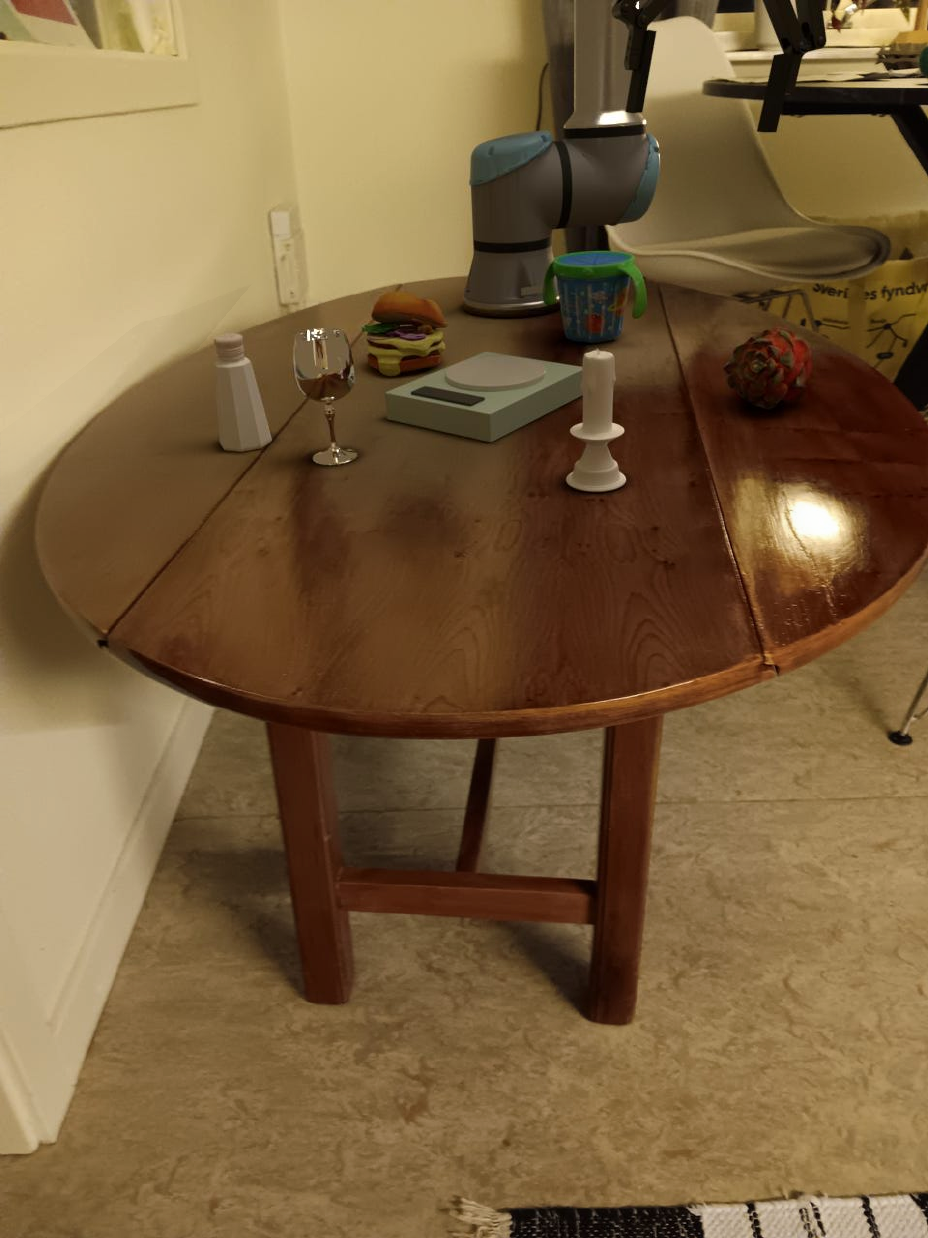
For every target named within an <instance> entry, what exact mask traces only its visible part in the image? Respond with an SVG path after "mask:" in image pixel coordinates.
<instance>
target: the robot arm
mask: <svg viewBox="0 0 928 1238" xmlns="http://www.w3.org/2000/svg"><path fill="white" fill-rule="evenodd" d="M573 1H574V7H573V10H574V13H573V15H574V20H573V21H574V23H573V24H574V29H573V31H574V33H573V34H574V36H573V37H574V38H573V39H574V40H573V41H574V46H573V47H574V53H573V54H574V55H573V56H574V59H573V61H574V64H573V65H574V67H573V69H574V70H573V73H574V74H573V77H574V78H573V79H574V80H573V86H574V87H573V88H574V89H573V90H574V91H573V97H574V98H573V103H574V104H573V105H574V106H573V107H574V108H573V109H574V110H573V113H572V115H571V116H570V117H569V119H567V121H565V123H564V124H563V140H555V141H554V137H553V135H552V132H551V131H549V130H532V131H527V132H519V133H513V134H509V135H503V136H500V137H496V138H493V139H489V140H486V141H484V142H482V143H479V144H477V145H476V146H475V147H474V148H473V150H472V152H471V154H470V162H469V163H470V164H469V165H470V166H469V167H470V168H469V180H468V185H469V186H470V200H471V203H470V204H471V223H472V226H471V227H472V244H473V245H472V247H473V249H472V250H473V254H472V256H473V257H472V260H471V263H470V266H469V267H470V268H469V271H468V275H467V279H466V284H465V288H464V291H463V295H462V296H463V297H462V299H463V300H462V301H463V309H464V310H465V311H466V312H468V313H471V314H473V315H476V316H482V317H489V318H490V317H491V318H493V317H494V318H522V317H529V316H530V317H531V316H538V315H544V314H548V313H551V312H554V311H558V310H560V299H559V293H558V287H557V279H556V276H555V277H554V286H555V292H556V299H557V300H556V302H555V303H554V304H553V305H550V306H547V305H546V304H545V303H544V301H543V297H542V294H543V284H544V278H545V274H546V271H547V268H548V267H549V265H550V264H551V263H552V262H553V260H554V259H555V257H554V254H553V230H562V229H563V230H564V229H576V228H586V227H588V228H589V227H599V226H610V227H615V226H618V225H620V224H628V223H634V222H637V221H639V220H640V219H642V218H643V217H644V216H645V215H646V213H647V212H648V211H649V209H650V207H651V205H652V203H653V200H654V198H655V196H656V192H657V187H658V183H659V178H660V170H661V155H660V153H659V150H660V147H659V146H660V145H659V142H658V139H656V137H655V136H654V135H652V134H650V133H648V132H647V120H646V118H644V117H643V116H642V114H641V113H643V111H644V107H645V106H644V105H645V100H646V94H647V89H648V82H649V77H650V72H651V65H652V60H653V54H654V49H655V44H656V37H657V33H658V31H657V30H654V29H648V26H650V25H651V23H653V21H654V20H656V18H657V17H658V16H659V15H660V14H661V13H662V12H663V11H664V10H665V9H666V8H667V7H668V6H669V5H670V4H671V3H672V2H673V0H646V1H645V2H644V3H643V4H642V5H641V7H640V8H639V4H640V3H639V2H640V0H573ZM762 3H763V5H764V8H765V10H766V13H767V15H768V18H769V20H770V23H771V26H772V28H773V31H774V33H775V35H776V38H777V40H778V43H779V46H780V48H781V51H782V53H778V54H773V57H772V61H771V62H772V63H771V66H770V71H769V74H768V78H767V84H766V88H765V93H764V98H763V102H762V106H761V111H760V115H759V119H758V124H757V128H756V132H757V133H764V134H765V133H777V131H778V127H779V123H780V119H781V114H782V110H783V107H784V106H783V105H784V102H785V97H786V95H787V96H788V95H793V93H794V92H795V89H796V86H797V81H798V76H799V73H800V69H801V64H802V60H803V57H805V55H806V54H807V53H809V52H813V51H817V50H822V49H824V47H826V45H827V32H826V25H825V18H824V11H823V4H822V3H823V2H822V0H794V3H795V7H796V8H795V9H794V6H793V4H792V1H791V0H762ZM795 10H796V11H795Z"/></svg>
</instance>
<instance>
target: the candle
mask: <svg viewBox="0 0 928 1238" xmlns="http://www.w3.org/2000/svg"><path fill="white" fill-rule="evenodd" d="M615 362H616V360H615V356H614V354H613V353H612V352H609V351H605V350H600V349H599V348H596V350H591V351H590V352H585V353H584V355H583V357H582V366H581V367H582V382H581V385H580V389H581V392H582V394H583V395H582V422H580V423H576V424H575V425H573V426H571V428H570V430H569V433H570V434H571V436H573V437H575V438H576V439H578V440H580V441H582V442H584V444H585V443H586V445H585V448H584V450H583V453H582V455H581V456H580V459H579V460H577V461H576V462H575V463H574V466H573V471H571V472H570V473H568V475H567V476H566V478H565V482H566V484H567V485H568V486H570V487H571V488H573V489H575V490H578V491H582V492H588V493H603V492H610V491H614V490H617V489H620V488H621V487H623V486H624V485H625V483H626V482H627V478H626V475H624V473H623V472H621V471H620V469H619V464H618V462H617V461H616V460H615V459H613V457H612V455H611V452H610V450H609V447H608V443H610V442H612V441H614V440H615V439H617V438H619V437H621V436H622V435H623V434H624V433H625V428H624V427H623V425H622V426H621V425H620V424H618V423H614V422H613V404H614V403H613V402H614V386H615V384H616V381H617V377H616V376H617V375H616V371H615V370H616V368H615V365H616V364H615Z"/></svg>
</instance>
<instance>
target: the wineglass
mask: <svg viewBox="0 0 928 1238" xmlns="http://www.w3.org/2000/svg"><path fill="white" fill-rule="evenodd" d="M293 339H294V340H293V349H292V371H293V378H294V381H295V384H296V387H297V389H298V390H299V392H300V393H301V394H302V395H303V396H304V397H305V398H307V399H309V400H310V401H314V402H317V403H323V404H325V406H324V415H325V418H326V421H327V424H328V428H329V438H330V445H329V448H326V449H323V450H320V451H317V452H316V453H314V454H313V455H312V461H313V462H314V463H315V464H318V465H323V466H337V465H338V466H339V465H344V464H348V463H350V462H353V461H354V460H356V459H357V458H358V455H359V454H358V451H356V450H355V449H353V448H350V447H340V446H339V445H338V443H337V440H336V433H335V416H336V411H335V410H336V409H335V407H334V405H333V404H332V403H334V402H337V401H339V400H341V399H343V398H344V397H346V396H347V395H348V394H349V393H351V391H352V389H353V387H354V385H355V381H356V365H355V359H354V355H353V351H352V348H351V345H350V341H349V339H348V336H347V333H346V331H345V330H344V329H341V328H337V327H318V328H311V329H305V330H302V331H299V332H297V333H295V335H294V338H293Z"/></svg>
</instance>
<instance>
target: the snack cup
mask: <svg viewBox="0 0 928 1238" xmlns="http://www.w3.org/2000/svg"><path fill="white" fill-rule="evenodd" d="M635 263H636V258H635V255H633V254H631V253H628V252H624V251H618V250H617V251H616V250H590V251H578V252H570V253H565V254H562V255H559V256H557V257H554V260H553V262H552V263H551V264H550V265H549V267H548V268H547V271H546V274H545V278H544V284H543V294H542V297H543V301H544V303H545V304H546V305H547V306H550V305H553V304H554V303H555V302H556V300H557V299H556V292H555V286H554V277H555V276H556V279H557V287H558V293H559V299H560V308H559V310H560V314H561V319H562V327H563V333H564V335H565V338H566V340H571V341H573V342H576V343H588V344H592V343H593V344H594V343H602V342H608V341H613V340H616V339H617V338H618V337H619V336H620V335H621V333H622V329H623V326H624V325H623V324H624V320H625V313H626V306H627V302H628V297H629V295H628V294H629V288H630V281H632V286H633V290H634V296H635V298H634V303H633V307H632V313H631V317H632V318H633V319H635V320H637V319H640V318H642V317H643V316H644V314H645V313H646V310H647V307H648V297H647V288H646V284H645V280H644V277H643V275H642V272H641V270H640V269H639V268H638V266H636V264H635Z"/></svg>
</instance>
